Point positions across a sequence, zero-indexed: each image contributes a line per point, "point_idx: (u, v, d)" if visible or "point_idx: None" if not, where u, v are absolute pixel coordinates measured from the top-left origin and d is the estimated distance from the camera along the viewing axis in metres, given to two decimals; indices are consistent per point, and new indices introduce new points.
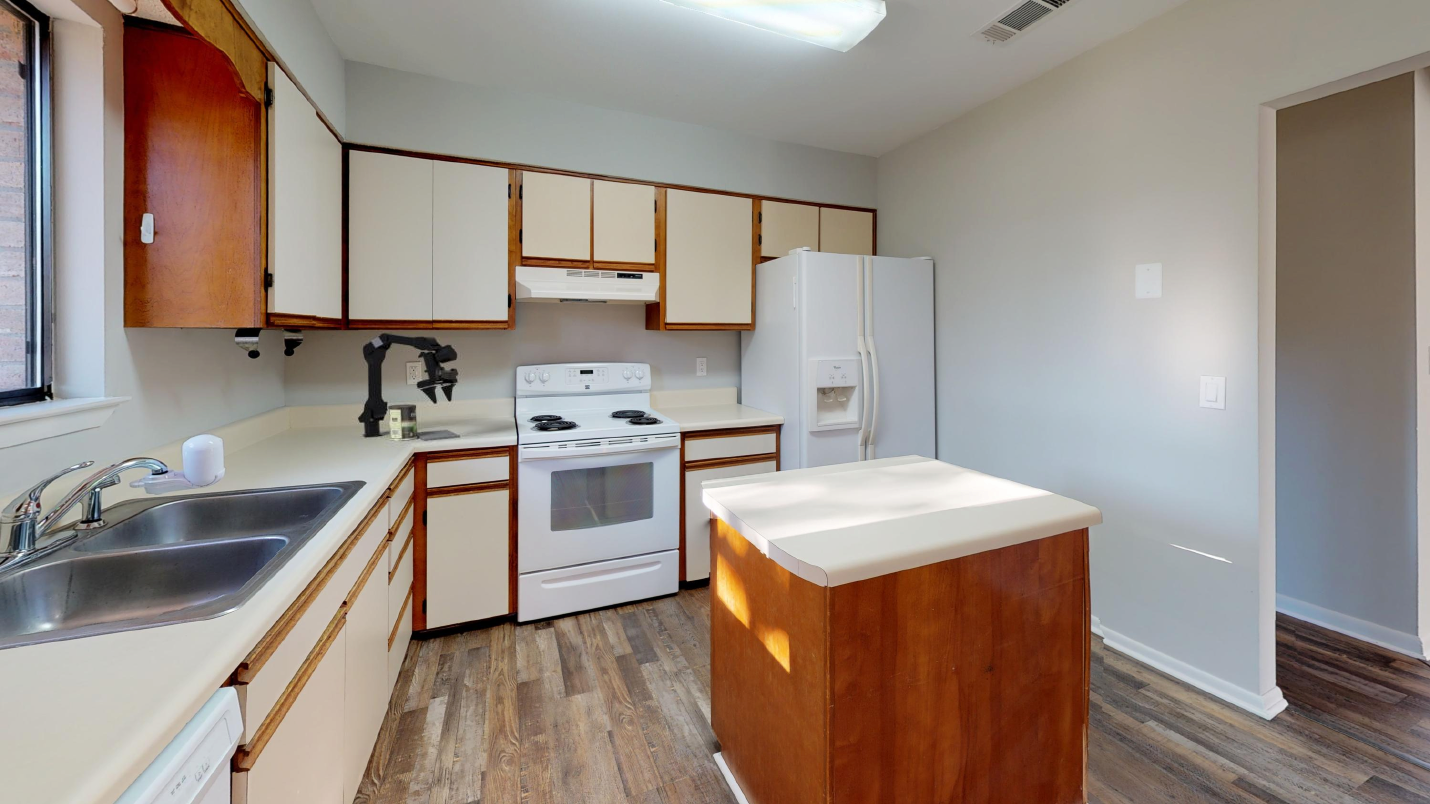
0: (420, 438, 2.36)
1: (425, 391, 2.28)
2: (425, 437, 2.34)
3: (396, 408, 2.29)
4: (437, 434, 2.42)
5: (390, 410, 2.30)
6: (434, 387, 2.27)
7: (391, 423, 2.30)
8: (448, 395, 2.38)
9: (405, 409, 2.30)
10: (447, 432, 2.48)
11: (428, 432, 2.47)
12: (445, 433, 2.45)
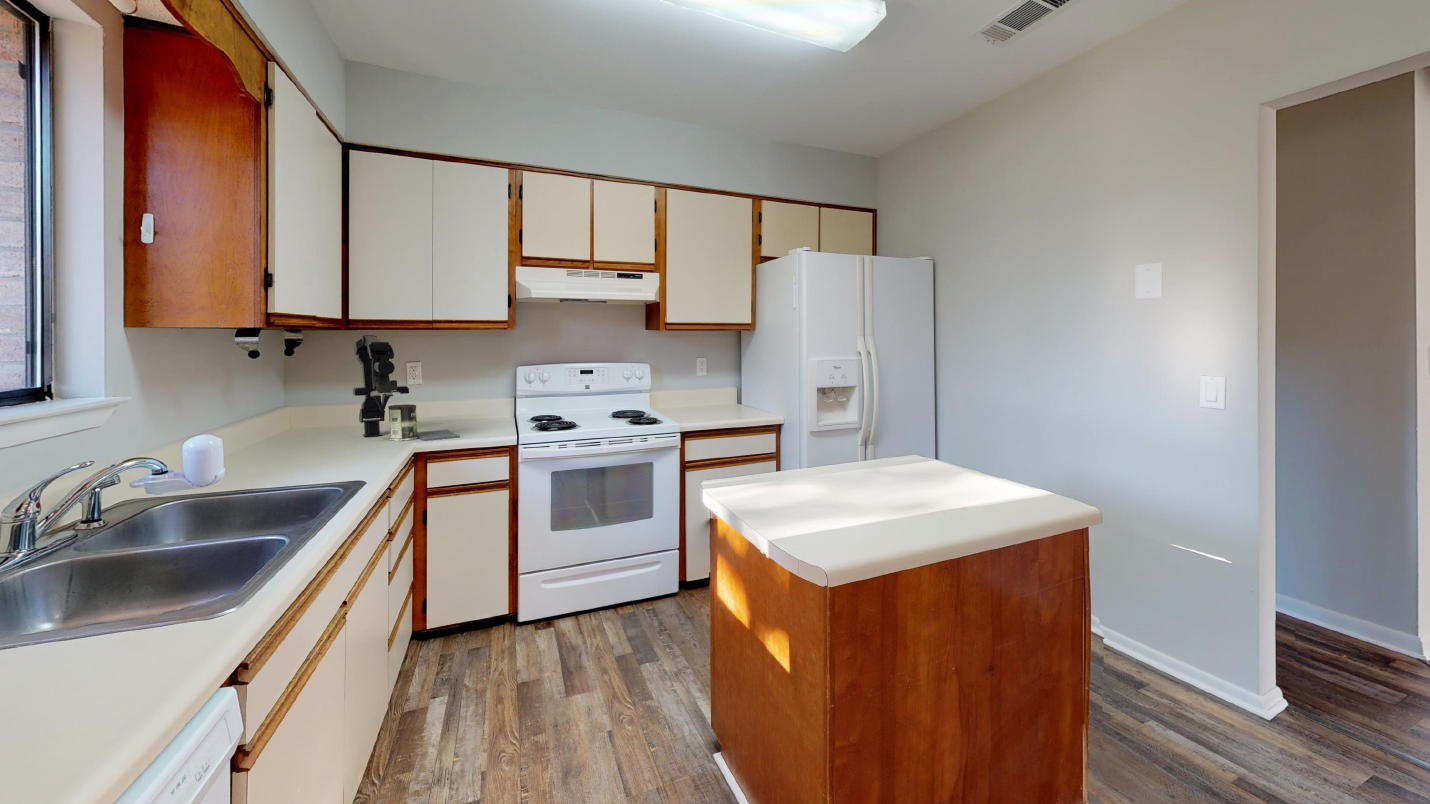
0: (420, 438, 2.36)
1: (375, 397, 2.24)
2: (425, 437, 2.34)
3: (396, 408, 2.29)
4: (437, 434, 2.42)
5: (390, 410, 2.30)
6: (377, 397, 2.21)
7: (391, 423, 2.30)
8: (382, 405, 2.24)
9: (405, 409, 2.30)
10: (447, 432, 2.48)
11: (428, 432, 2.47)
12: (445, 433, 2.45)
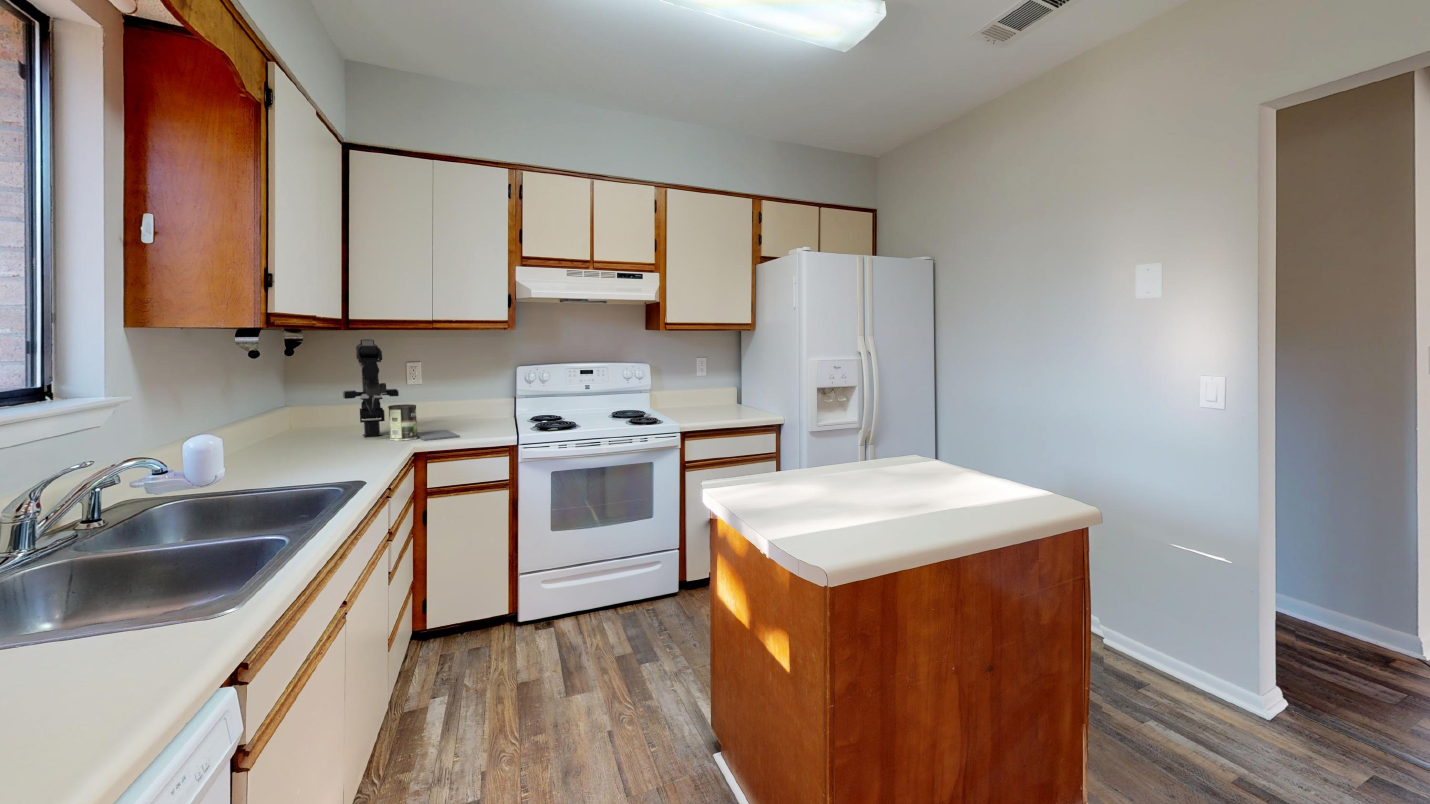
0: (420, 438, 2.36)
1: (365, 400, 2.27)
2: (425, 437, 2.34)
3: (396, 408, 2.29)
4: (437, 434, 2.42)
5: (390, 410, 2.30)
6: (367, 399, 2.23)
7: (391, 423, 2.30)
8: (372, 408, 2.27)
9: (405, 409, 2.30)
10: (447, 432, 2.48)
11: (428, 432, 2.47)
12: (445, 433, 2.45)
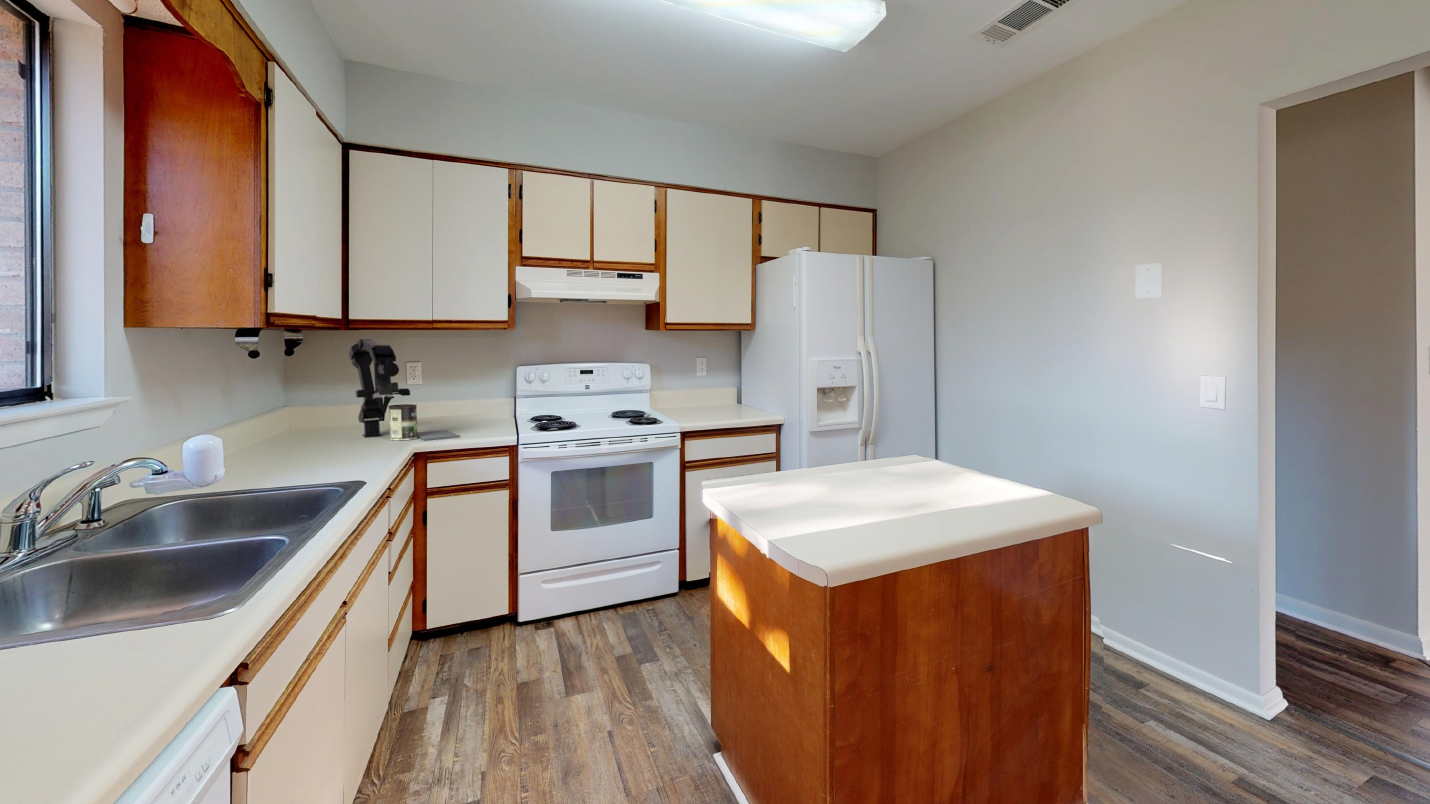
0: (420, 438, 2.36)
1: (377, 399, 2.29)
2: (425, 437, 2.34)
3: (397, 408, 2.29)
4: (437, 434, 2.42)
5: (390, 410, 2.30)
6: (379, 398, 2.26)
7: (391, 423, 2.30)
8: None
9: (406, 408, 2.30)
10: (447, 432, 2.48)
11: (428, 432, 2.47)
12: (445, 433, 2.45)
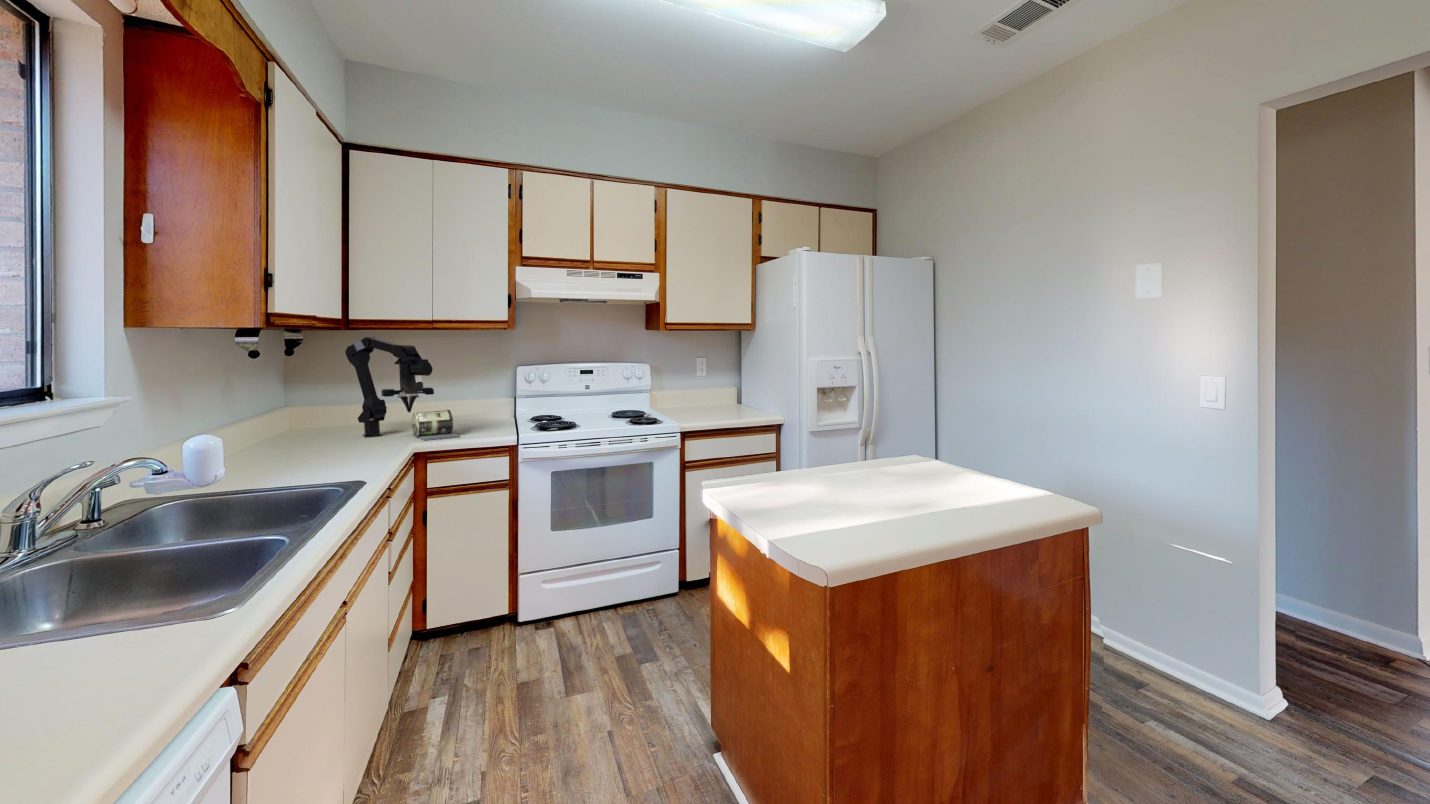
0: (420, 438, 2.36)
1: (402, 398, 2.35)
2: (425, 437, 2.34)
3: (450, 416, 2.42)
4: (437, 434, 2.42)
5: (446, 411, 2.43)
6: (404, 397, 2.32)
7: (433, 412, 2.40)
8: (409, 406, 2.35)
9: (450, 423, 2.42)
10: None
11: None
12: (445, 433, 2.45)
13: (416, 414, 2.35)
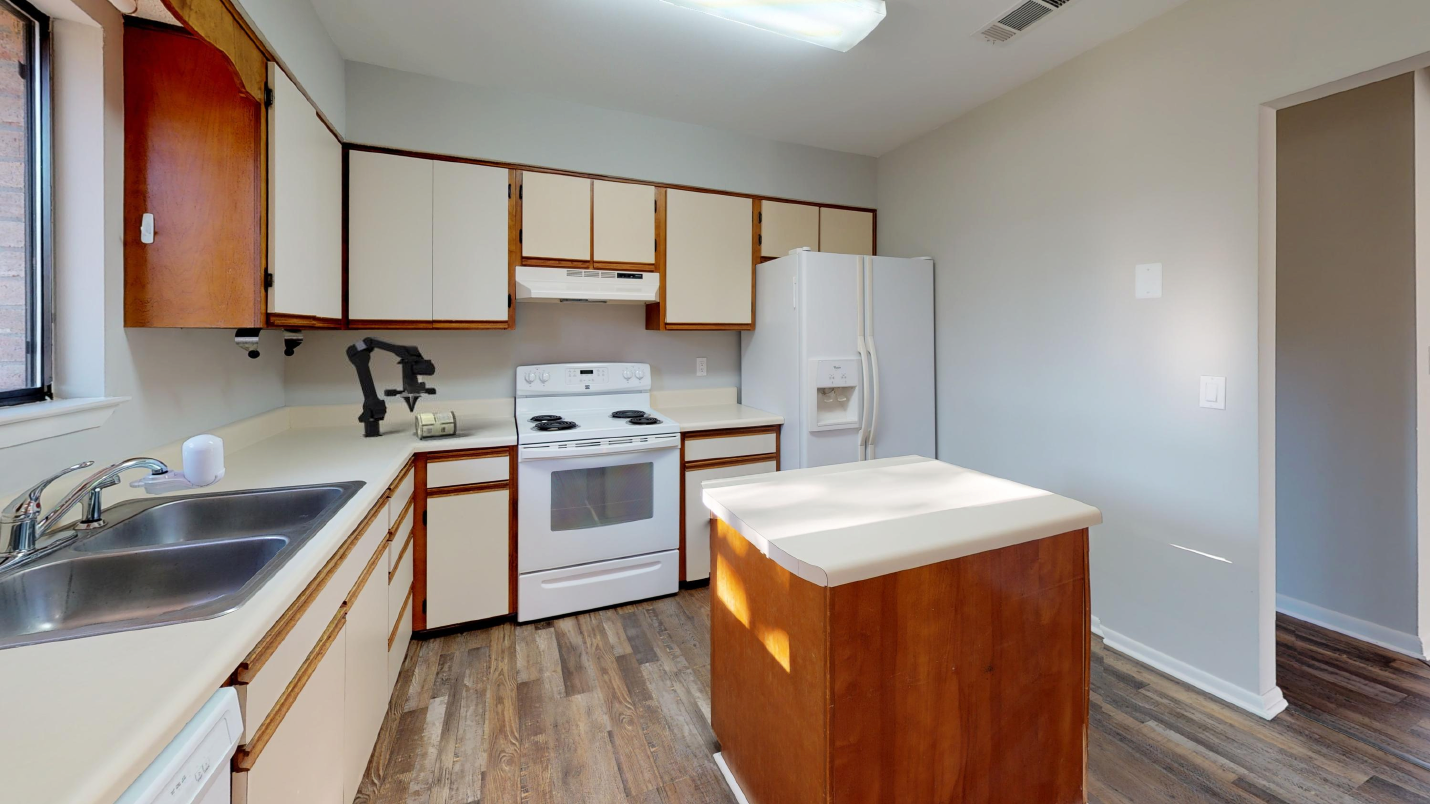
0: (420, 438, 2.36)
1: (404, 398, 2.36)
2: (425, 437, 2.34)
3: (454, 431, 2.38)
4: None
5: (452, 424, 2.36)
6: (407, 397, 2.33)
7: (438, 426, 2.33)
8: (411, 406, 2.36)
9: (452, 434, 2.40)
10: None
11: None
12: None
13: (421, 429, 2.29)
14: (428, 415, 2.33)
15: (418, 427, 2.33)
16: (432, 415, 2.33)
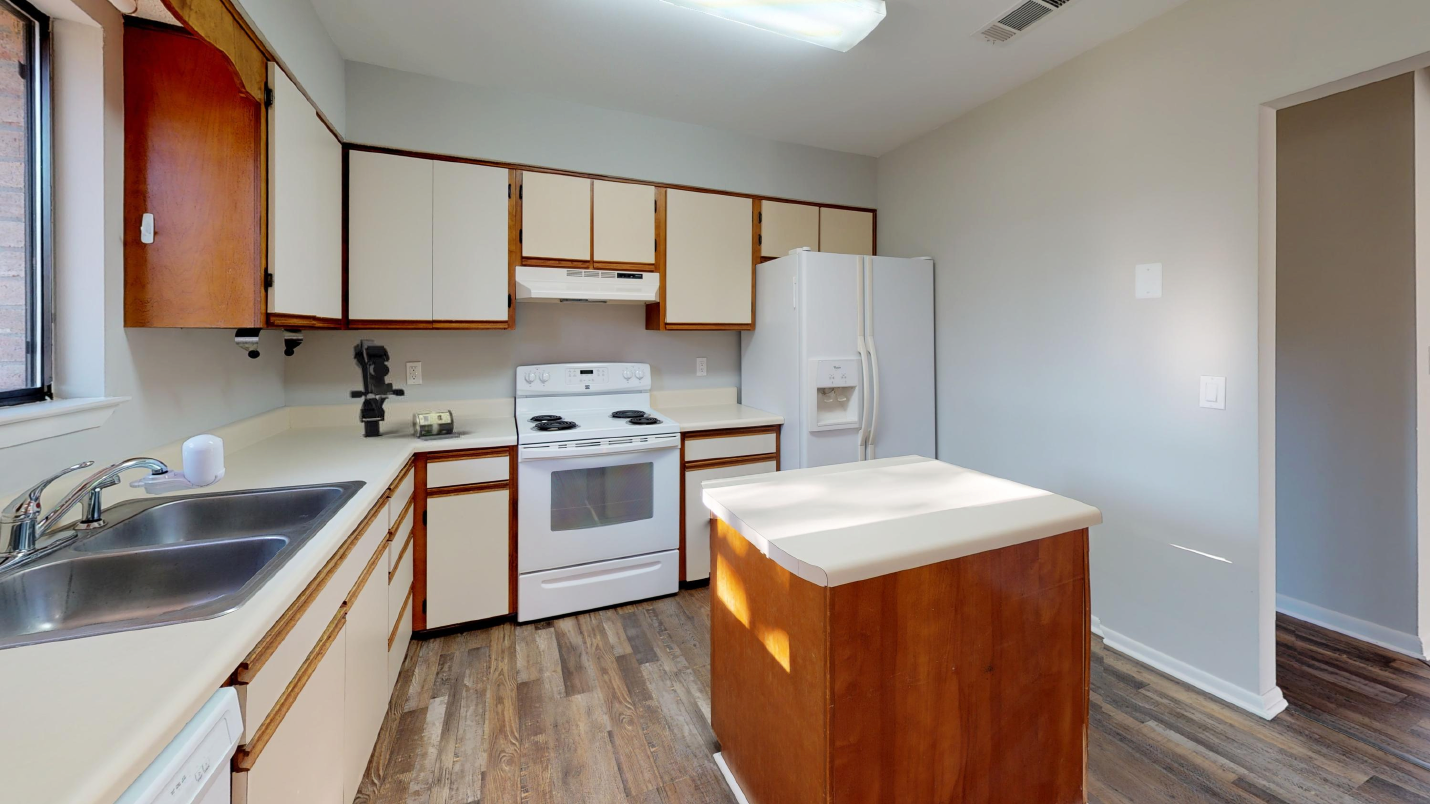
0: (420, 438, 2.36)
1: (371, 400, 2.28)
2: (425, 437, 2.34)
3: (451, 419, 2.41)
4: (437, 434, 2.42)
5: (448, 413, 2.42)
6: (373, 399, 2.25)
7: (434, 414, 2.38)
8: (378, 408, 2.28)
9: (451, 426, 2.41)
10: None
11: None
12: None
13: (417, 416, 2.34)
14: None
15: (416, 426, 2.37)
16: None
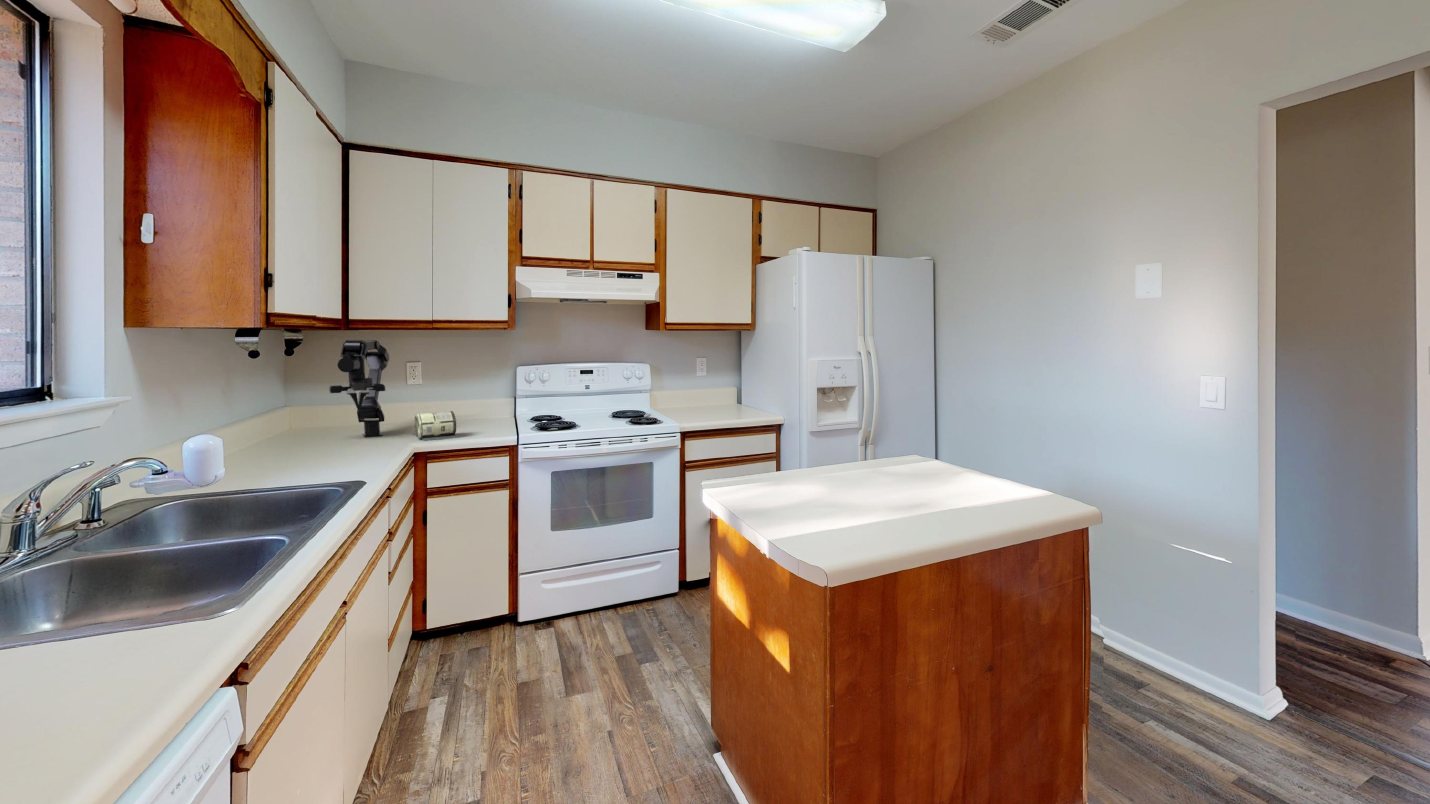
0: (420, 438, 2.36)
1: (351, 395, 2.27)
2: (425, 437, 2.34)
3: (454, 430, 2.38)
4: None
5: (452, 423, 2.37)
6: (353, 394, 2.24)
7: (438, 425, 2.33)
8: (358, 403, 2.27)
9: (452, 434, 2.40)
10: None
11: None
12: None
13: (421, 427, 2.29)
14: (427, 414, 2.34)
15: (418, 427, 2.34)
16: (431, 414, 2.34)
